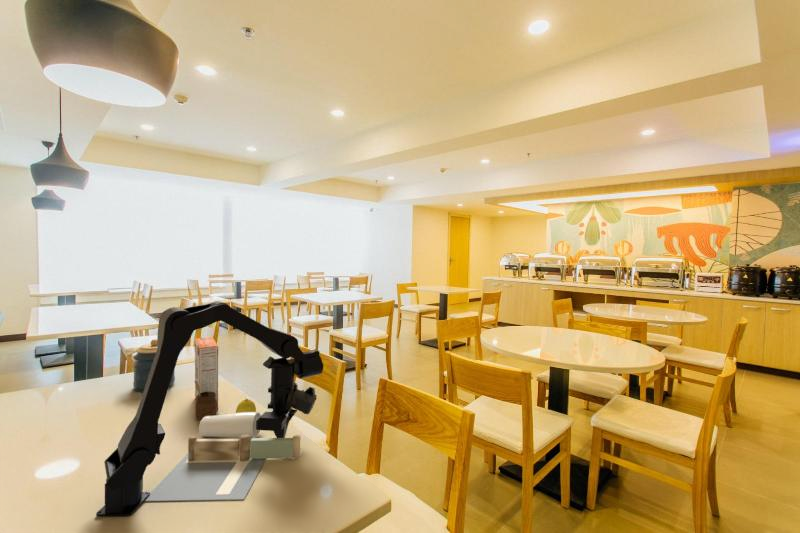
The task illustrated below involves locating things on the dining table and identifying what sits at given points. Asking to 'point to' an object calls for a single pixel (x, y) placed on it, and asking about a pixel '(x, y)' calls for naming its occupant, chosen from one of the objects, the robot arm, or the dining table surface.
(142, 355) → the canister
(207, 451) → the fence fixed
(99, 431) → the dining table surface
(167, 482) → the card
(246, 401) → the lemon
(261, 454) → the fence panel
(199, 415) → the utensil holder
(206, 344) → the cracker box
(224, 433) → the white tumbler
